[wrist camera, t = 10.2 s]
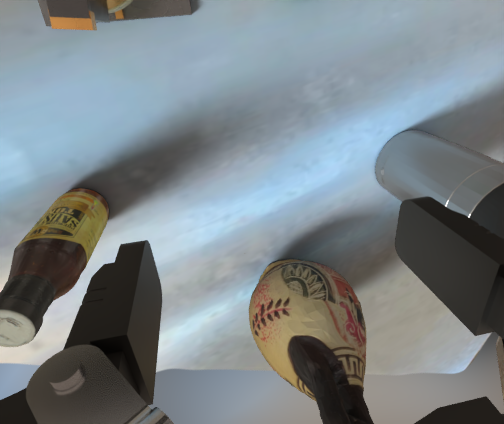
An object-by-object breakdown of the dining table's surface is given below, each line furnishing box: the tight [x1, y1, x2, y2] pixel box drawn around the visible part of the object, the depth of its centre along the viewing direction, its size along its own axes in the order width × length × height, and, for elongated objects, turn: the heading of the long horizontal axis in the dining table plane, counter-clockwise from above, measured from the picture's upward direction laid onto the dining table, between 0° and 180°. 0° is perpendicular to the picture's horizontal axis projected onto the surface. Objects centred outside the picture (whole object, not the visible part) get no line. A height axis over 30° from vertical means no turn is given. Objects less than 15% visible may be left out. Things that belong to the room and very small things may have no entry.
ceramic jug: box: [249, 259, 374, 424], centre depth 40 cm, size 17×15×30 cm
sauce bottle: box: [0, 188, 109, 347], centre depth 33 cm, size 7×6×20 cm
